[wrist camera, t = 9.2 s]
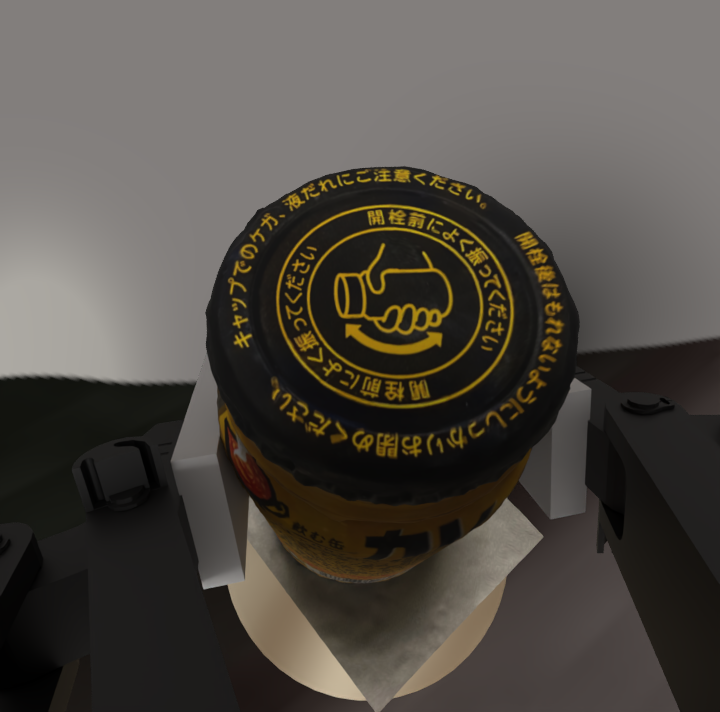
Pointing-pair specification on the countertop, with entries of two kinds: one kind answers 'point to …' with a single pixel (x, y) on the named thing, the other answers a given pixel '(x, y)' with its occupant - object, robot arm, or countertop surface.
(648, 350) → the countertop surface
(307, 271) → the condiment
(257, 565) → the flange base
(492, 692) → the countertop surface
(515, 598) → the countertop surface
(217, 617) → the countertop surface
